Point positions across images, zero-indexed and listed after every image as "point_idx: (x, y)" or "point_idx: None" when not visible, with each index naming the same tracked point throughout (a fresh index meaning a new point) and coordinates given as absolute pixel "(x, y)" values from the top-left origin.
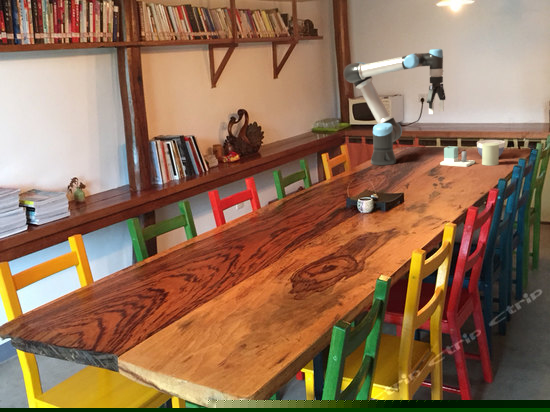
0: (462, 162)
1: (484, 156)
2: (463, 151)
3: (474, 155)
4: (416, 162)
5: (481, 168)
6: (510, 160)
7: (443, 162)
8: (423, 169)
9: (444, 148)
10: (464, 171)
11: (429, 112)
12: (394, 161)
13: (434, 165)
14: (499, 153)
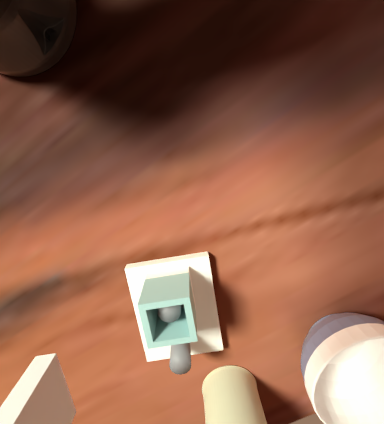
0: None
1: (206, 410)
2: (180, 362)
3: (356, 270)
4: (115, 150)
5: (152, 399)
6: (311, 406)
7: (129, 280)
8: (21, 259)
9: (138, 305)
10: (83, 383)
11: (24, 389)
12: (24, 73)
13: (106, 251)
14: (330, 389)
